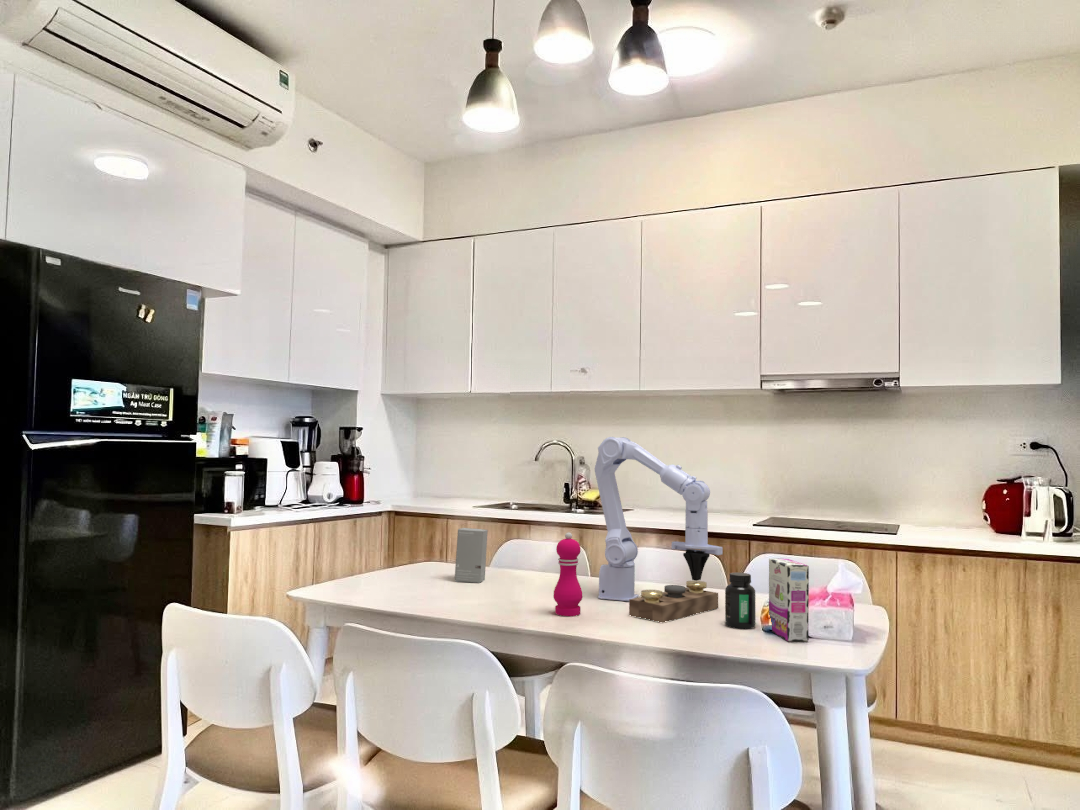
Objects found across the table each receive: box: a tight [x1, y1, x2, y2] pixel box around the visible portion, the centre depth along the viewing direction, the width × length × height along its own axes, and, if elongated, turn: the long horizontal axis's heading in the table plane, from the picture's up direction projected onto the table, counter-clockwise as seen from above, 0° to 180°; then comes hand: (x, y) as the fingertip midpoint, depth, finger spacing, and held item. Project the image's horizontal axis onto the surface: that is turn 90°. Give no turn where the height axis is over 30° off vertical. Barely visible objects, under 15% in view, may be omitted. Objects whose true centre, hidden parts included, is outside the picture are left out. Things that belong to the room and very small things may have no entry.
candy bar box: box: [768, 558, 810, 643], centre depth 167 cm, size 11×5×16 cm, turn 5°
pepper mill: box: [553, 532, 584, 617], centre depth 187 cm, size 7×7×20 cm
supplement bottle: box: [724, 572, 757, 630], centre depth 176 cm, size 7×7×12 cm
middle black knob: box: [663, 584, 686, 598], centre depth 190 cm, size 5×5×5 cm
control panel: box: [628, 586, 719, 623], centre depth 189 cm, size 24×10×4 cm, turn 134°
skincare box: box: [454, 527, 489, 584], centre depth 230 cm, size 8×7×16 cm
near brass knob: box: [640, 589, 664, 604], centre depth 183 cm, size 5×5×5 cm
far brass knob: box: [685, 580, 708, 594], centre depth 196 cm, size 5×5×5 cm
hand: (696, 579), depth 196 cm, fingers closed
